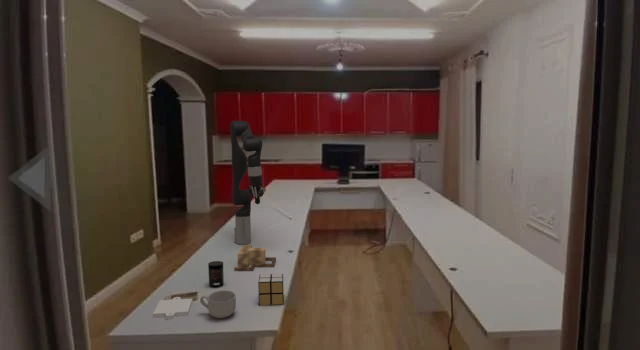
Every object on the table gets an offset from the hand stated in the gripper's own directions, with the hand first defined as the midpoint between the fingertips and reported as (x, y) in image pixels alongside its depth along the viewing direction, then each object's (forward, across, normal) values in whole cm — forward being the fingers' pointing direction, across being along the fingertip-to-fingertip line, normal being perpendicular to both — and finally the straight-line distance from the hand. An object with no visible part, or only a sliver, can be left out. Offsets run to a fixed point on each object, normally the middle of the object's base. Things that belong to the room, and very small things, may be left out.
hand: (257, 203), depth 245 cm
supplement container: (+21, -22, +50) cm, 59 cm away
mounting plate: (+18, -30, +77) cm, 84 cm away
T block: (+26, -13, +19) cm, 34 cm away
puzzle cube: (+20, -54, +46) cm, 74 cm away
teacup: (+17, -48, +68) cm, 85 cm away
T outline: (+26, -14, +17) cm, 34 cm away
